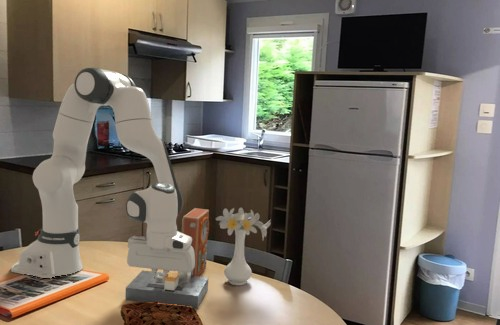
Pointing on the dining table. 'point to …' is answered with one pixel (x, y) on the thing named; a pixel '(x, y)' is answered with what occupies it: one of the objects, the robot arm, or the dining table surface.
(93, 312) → the dining table surface
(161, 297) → the box
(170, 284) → the block
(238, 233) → the flower vase
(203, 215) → the orange retro radio
